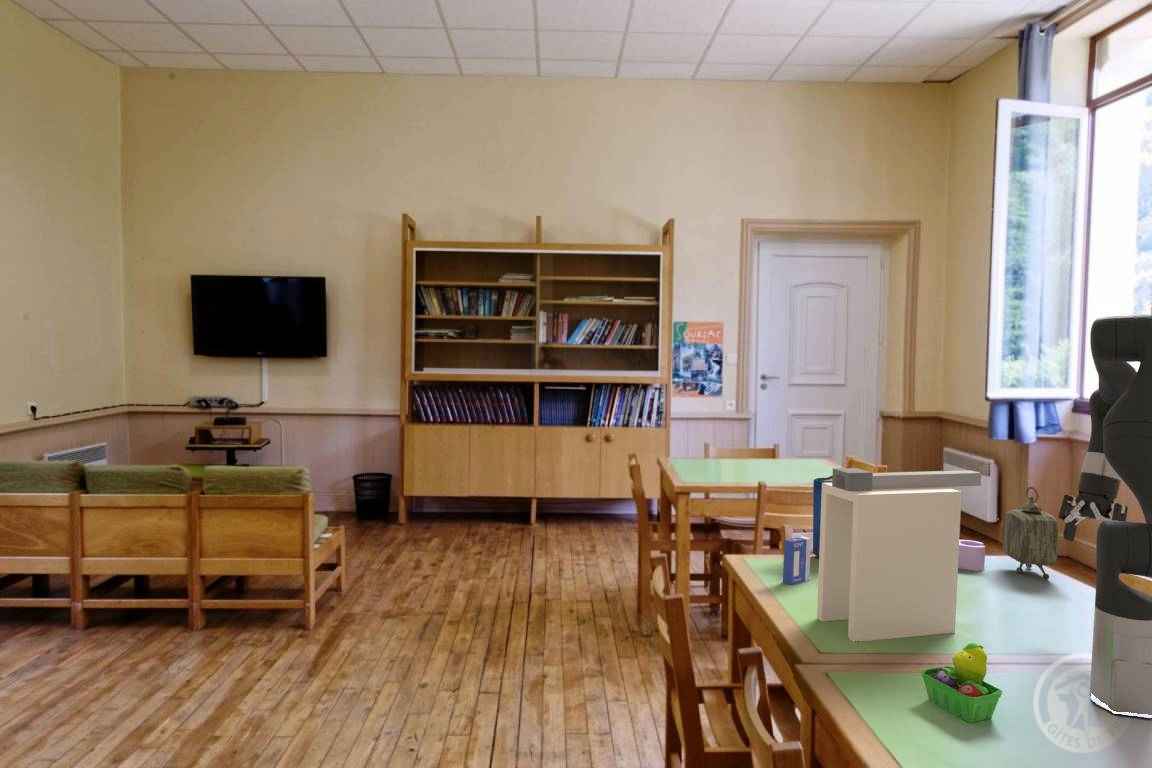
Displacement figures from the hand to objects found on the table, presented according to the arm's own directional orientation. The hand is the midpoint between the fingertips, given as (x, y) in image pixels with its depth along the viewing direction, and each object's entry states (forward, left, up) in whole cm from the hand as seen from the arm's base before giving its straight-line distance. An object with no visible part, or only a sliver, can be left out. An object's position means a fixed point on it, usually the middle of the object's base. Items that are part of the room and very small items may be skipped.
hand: (1085, 544), depth 167 cm
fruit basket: (-49, +35, -20) cm, 64 cm away
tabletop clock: (+46, -2, -20) cm, 50 cm away
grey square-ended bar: (-9, +39, +12) cm, 41 cm away
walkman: (+16, +62, -20) cm, 67 cm away
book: (+46, +47, -20) cm, 69 cm away
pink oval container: (+49, +19, -20) cm, 56 cm away
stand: (-11, +43, -20) cm, 49 cm away
